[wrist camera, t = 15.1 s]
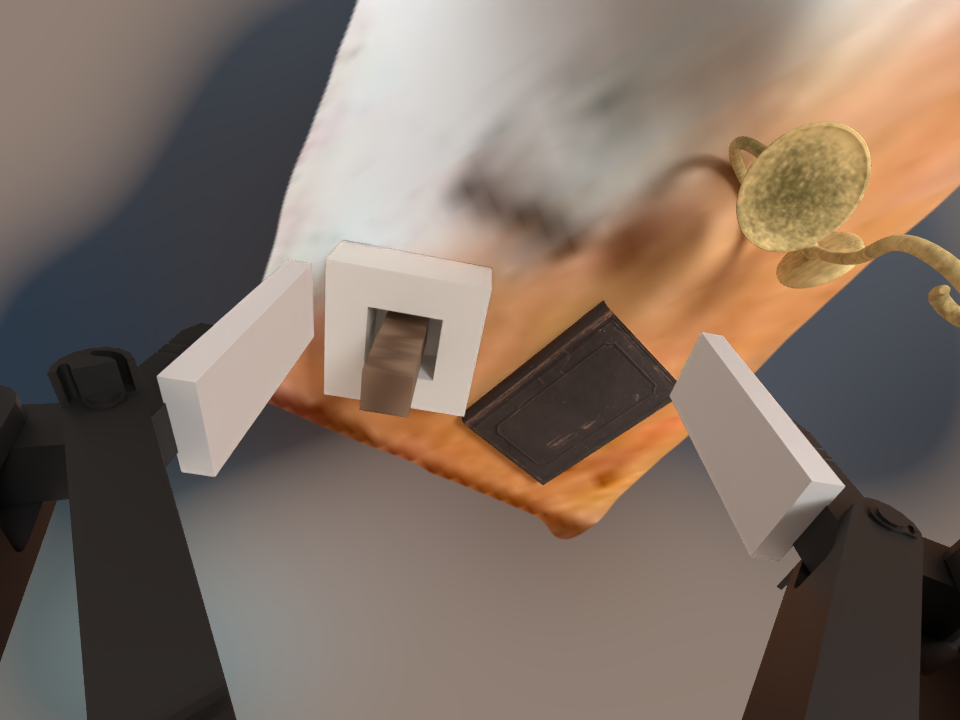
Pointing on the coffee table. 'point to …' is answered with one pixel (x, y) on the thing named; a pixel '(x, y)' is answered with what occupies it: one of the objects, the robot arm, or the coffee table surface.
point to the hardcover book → (572, 397)
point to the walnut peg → (394, 364)
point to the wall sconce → (821, 209)
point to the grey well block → (412, 290)
